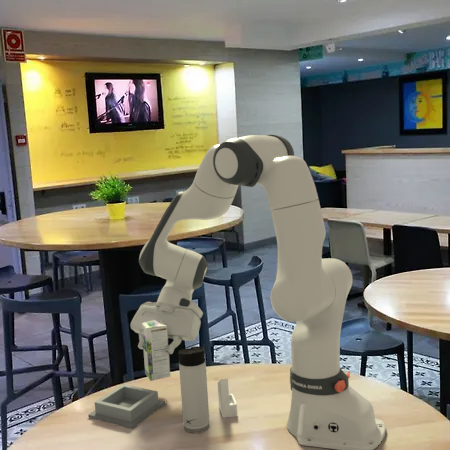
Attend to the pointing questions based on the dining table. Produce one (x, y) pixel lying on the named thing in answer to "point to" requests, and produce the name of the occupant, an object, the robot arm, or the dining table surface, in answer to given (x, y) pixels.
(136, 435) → the dining table surface
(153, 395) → the holder
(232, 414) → the white angled block
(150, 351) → the syrup box
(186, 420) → the travel mug
